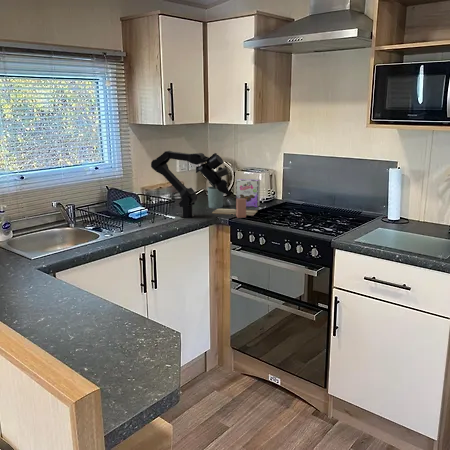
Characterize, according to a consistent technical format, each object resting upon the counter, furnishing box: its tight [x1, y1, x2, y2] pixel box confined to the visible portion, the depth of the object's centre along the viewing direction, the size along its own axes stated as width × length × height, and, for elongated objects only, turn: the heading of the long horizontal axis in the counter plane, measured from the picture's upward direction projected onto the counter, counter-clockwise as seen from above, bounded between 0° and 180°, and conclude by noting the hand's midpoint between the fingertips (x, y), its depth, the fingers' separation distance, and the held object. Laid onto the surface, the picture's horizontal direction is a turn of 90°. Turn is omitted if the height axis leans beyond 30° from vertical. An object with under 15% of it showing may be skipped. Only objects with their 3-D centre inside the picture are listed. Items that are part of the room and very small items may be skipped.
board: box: [211, 208, 258, 217], centre depth 274 cm, size 12×24×1 cm, turn 75°
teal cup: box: [207, 186, 225, 209], centre depth 289 cm, size 10×10×12 cm
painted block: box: [235, 197, 247, 219], centre depth 262 cm, size 4×4×10 cm
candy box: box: [235, 178, 261, 208], centre depth 291 cm, size 14×6×16 cm, turn 73°
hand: (227, 193), depth 260 cm, fingers open, 9 cm apart
